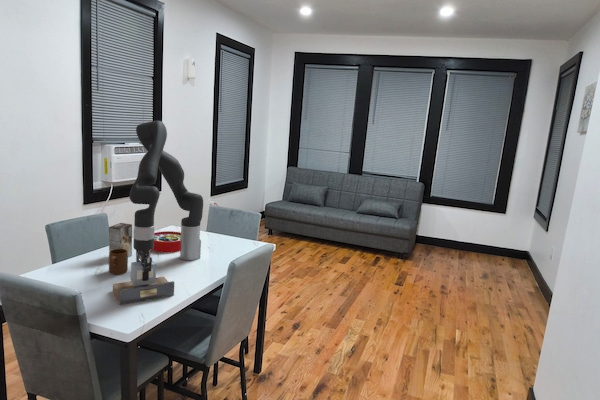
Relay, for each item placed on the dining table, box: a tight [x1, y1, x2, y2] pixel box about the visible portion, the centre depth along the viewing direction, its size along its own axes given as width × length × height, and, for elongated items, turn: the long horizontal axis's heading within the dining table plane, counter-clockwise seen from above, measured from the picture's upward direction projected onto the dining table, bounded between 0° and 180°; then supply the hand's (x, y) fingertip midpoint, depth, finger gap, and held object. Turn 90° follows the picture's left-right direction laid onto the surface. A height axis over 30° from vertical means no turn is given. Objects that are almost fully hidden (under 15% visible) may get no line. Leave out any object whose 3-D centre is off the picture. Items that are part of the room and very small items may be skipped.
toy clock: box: [150, 230, 181, 254], centre depth 216 cm, size 20×6×20 cm
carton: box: [130, 259, 157, 286], centre depth 158 cm, size 6×8×8 cm
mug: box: [108, 249, 129, 275], centre depth 175 cm, size 12×8×9 cm, turn 3°
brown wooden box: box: [112, 275, 175, 306], centre depth 159 cm, size 20×14×6 cm
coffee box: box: [108, 222, 133, 258], centre depth 193 cm, size 9×6×16 cm
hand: (143, 277), depth 159 cm, fingers closed on carton, 5 cm apart
